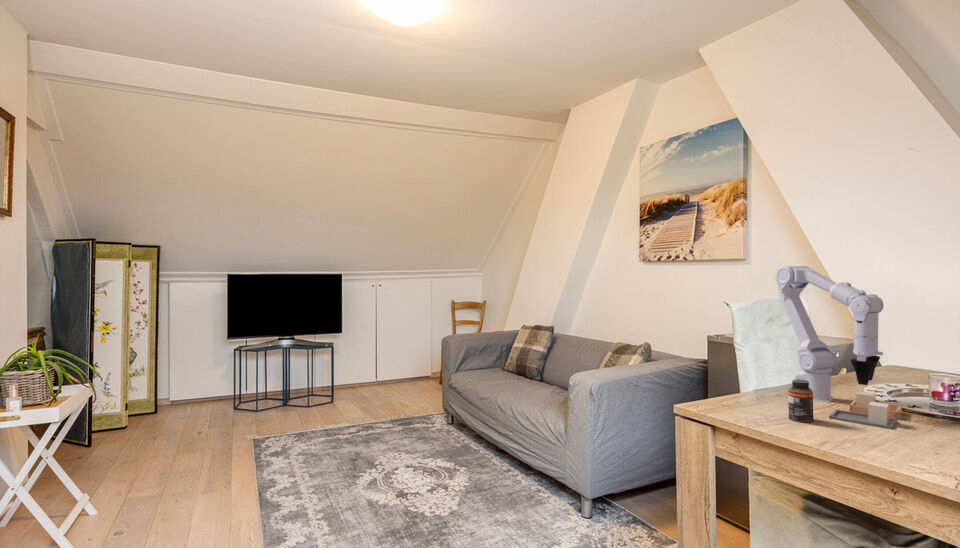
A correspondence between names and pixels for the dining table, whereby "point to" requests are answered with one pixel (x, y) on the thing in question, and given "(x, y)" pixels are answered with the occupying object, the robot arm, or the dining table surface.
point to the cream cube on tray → (878, 413)
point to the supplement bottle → (800, 402)
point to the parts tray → (859, 419)
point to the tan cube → (864, 398)
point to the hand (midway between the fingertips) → (865, 382)
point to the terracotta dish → (893, 409)
